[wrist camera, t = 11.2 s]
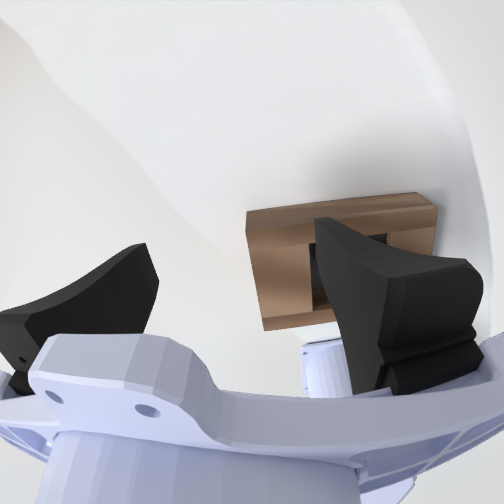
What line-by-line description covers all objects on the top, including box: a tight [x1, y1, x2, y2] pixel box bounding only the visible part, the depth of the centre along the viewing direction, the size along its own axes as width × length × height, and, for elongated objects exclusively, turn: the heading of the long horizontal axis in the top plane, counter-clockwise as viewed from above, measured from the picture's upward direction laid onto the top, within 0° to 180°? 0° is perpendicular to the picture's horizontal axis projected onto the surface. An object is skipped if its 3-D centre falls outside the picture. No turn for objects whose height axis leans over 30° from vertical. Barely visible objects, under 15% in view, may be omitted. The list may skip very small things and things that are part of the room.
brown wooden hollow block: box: [245, 192, 438, 331], centre depth 22 cm, size 9×14×4 cm, turn 99°
